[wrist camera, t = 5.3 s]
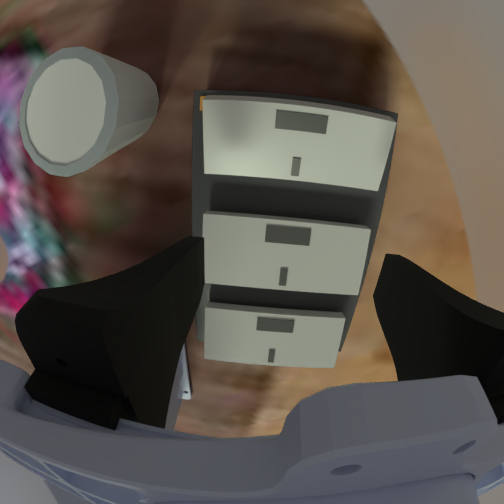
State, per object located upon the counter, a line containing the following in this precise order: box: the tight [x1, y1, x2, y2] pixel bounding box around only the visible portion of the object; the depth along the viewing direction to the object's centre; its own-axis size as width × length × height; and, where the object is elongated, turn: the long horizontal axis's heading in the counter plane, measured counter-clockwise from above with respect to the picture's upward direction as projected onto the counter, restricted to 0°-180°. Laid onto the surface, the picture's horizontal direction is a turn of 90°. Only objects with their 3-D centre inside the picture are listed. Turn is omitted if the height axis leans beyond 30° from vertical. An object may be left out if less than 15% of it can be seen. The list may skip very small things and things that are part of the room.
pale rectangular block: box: [204, 302, 345, 368], centre depth 20 cm, size 4×9×1 cm, turn 86°
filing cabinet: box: [192, 90, 398, 352], centre depth 19 cm, size 18×11×4 cm, turn 176°
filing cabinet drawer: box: [202, 211, 371, 295], centre depth 17 cm, size 4×9×1 cm, turn 86°
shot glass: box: [19, 46, 159, 177], centre depth 14 cm, size 7×7×7 cm
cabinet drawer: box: [203, 95, 396, 191], centre depth 14 cm, size 4×9×1 cm, turn 87°
